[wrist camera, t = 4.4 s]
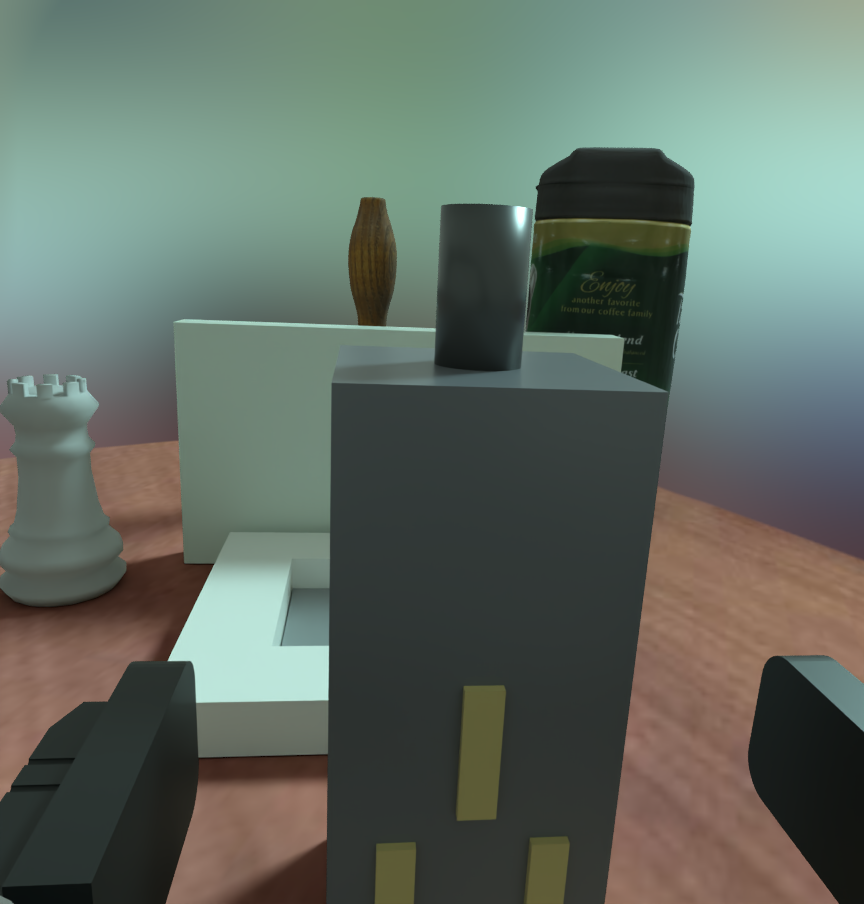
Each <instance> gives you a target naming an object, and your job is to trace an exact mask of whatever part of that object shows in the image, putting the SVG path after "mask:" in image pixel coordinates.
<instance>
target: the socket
mask: <svg viewBox="0 0 864 904" xmlns="http://www.w3.org/2000/svg"><path fill="white" fill-rule="evenodd" d="M435 332H436V328H434V329H433V328H408V327H381V326H354V325H325V324H298V323H271V322H243V321H215V320H188V319H183V320H180V321H176V322H174V344H175V366H176V389H177V411H178V434H179V457H180V479H181V502H182V524H183V547H184V563H215V564H214V566H213V568H212V570H211V572H210V574H209V576H208V579H207V581H206V583H205V585H204V587H203V589H202V591H201V593H200V595H199V597H198V599H197V601H196V603H195V605H194V607H193V609H192V612H191V614H190V616H189V618H188V620H187V622H186V624H185V626H184V628H183V630H182V632H181V634H180V636H179V638H178V640H177V642H176V645H175V647H174V649H173V651H172V653H171V655H170V657H169V659H168V661H191V662H192V664H193V667H194V672H195V688H196V712H197V736H198V757H236V756H275V755H314V754H328V688H329V585H330V483H331V383H332V378H333V374H334V370H335V366H336V362H337V357H338V353H339V349H340V345H350V346H380V347H409V348H435ZM624 339H625V338H621V337H617V336H614V335H601V334H574V333H546V332H524V335H523V348H522V351H528V352H557V353H574V354H577V355H579V356H582V357H584V358H587V359H589V360H592V361H594V362H596V363H599V364H601V365H604V366H606V367H609V368H611V369H613V370H616V371H618V372H621V366H622V357H623V348H624Z"/></svg>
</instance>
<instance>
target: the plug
mask: <svg viewBox="0 0 864 904" xmlns="http://www.w3.org/2000/svg"><path fill="white" fill-rule="evenodd" d="M532 215H533V209H530V208H525V207H517V206H508V205H493V204H491V205H490V204H448V205H442V206H441V221H440V243H439V266H438V287H437V288H438V289H437V310H436V332H435V348H409V347H380V346H350V345H340V349H339V353H338V357H337V362H336V366H335V370H334V374H333V378H332V383H331V483H330V585H329V688H328V790H327V893H326V904H604V903H605V895H606V887H607V879H608V871H609V863H610V856H611V848H612V840H613V832H614V824H615V816H616V808H617V800H618V792H619V785H620V777H621V769H622V761H623V753H624V745H625V737H626V729H627V722H628V714H629V706H630V698H631V690H632V682H633V674H634V666H635V658H636V651H637V643H638V635H639V627H640V619H641V611H642V603H643V595H644V588H645V580H646V572H647V564H648V556H649V548H650V540H651V532H652V525H653V517H654V509H655V501H656V493H657V485H658V477H659V469H660V461H661V454H662V446H663V438H664V430H665V422H666V414H667V406H668V398H669V392H667V391H665V390H662V389H660V388H657V387H655V386H652V385H650V384H648V383H645V382H643V381H640V380H638V379H635V378H633V377H631V376H628V375H626V374H623V373H621V372H618V371H616V370H613V369H611V368H609V367H606V366H604V365H601V364H599V363H596V362H594V361H592V360H589V359H587V358H584V357H582V356H579V355H577V354H574V353H557V352H528V351H522V348H523V335H524V321H525V308H526V294H527V281H528V268H529V253H530V241H531V228H532Z"/></svg>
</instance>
